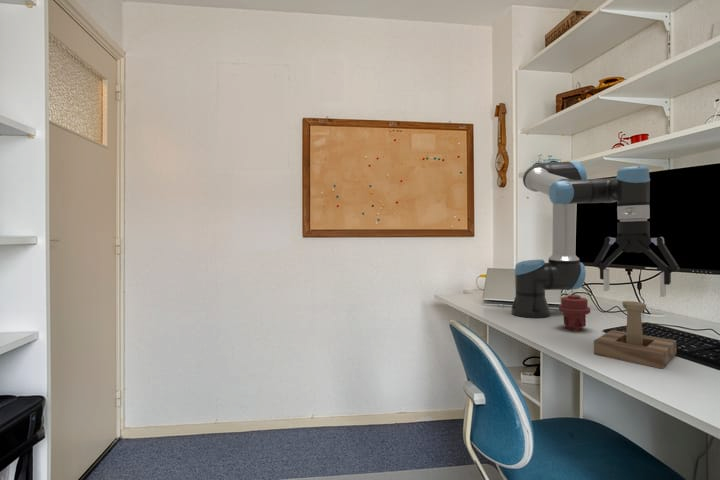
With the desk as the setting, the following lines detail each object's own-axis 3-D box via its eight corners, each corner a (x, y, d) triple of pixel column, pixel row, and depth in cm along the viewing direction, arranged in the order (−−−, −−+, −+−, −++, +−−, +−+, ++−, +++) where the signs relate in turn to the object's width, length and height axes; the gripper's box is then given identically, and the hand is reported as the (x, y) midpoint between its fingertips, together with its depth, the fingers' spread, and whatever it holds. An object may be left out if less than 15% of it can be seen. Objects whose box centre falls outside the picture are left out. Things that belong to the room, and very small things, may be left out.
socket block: (611, 342, 118) (611, 329, 118) (676, 354, 106) (676, 340, 106) (594, 354, 108) (593, 340, 108) (662, 368, 96) (662, 353, 95)
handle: (632, 357, 104) (632, 305, 103) (619, 350, 110) (618, 301, 110) (651, 358, 103) (650, 305, 103) (636, 350, 110) (635, 301, 109)
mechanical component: (584, 325, 138) (595, 333, 128) (555, 325, 140) (564, 332, 130) (583, 293, 138) (595, 298, 128) (554, 293, 140) (563, 298, 130)
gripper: (580, 222, 113) (581, 289, 114) (687, 219, 94) (687, 300, 95) (589, 221, 118) (590, 286, 119) (693, 218, 99) (693, 296, 99)
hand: (633, 293), depth 107 cm, fingers open, 13 cm apart
